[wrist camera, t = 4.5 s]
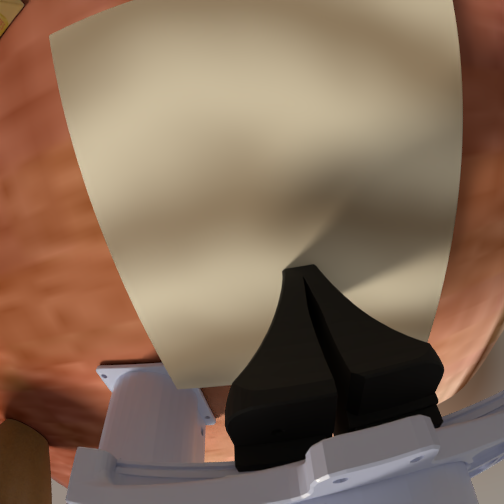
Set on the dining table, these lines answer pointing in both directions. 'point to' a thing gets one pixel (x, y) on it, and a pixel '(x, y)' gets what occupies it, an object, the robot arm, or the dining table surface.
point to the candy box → (8, 12)
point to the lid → (266, 160)
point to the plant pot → (23, 465)
